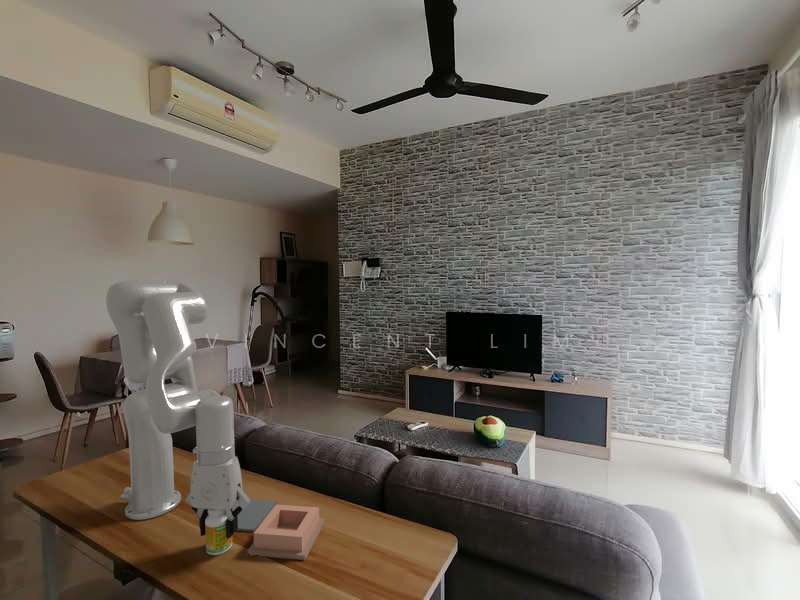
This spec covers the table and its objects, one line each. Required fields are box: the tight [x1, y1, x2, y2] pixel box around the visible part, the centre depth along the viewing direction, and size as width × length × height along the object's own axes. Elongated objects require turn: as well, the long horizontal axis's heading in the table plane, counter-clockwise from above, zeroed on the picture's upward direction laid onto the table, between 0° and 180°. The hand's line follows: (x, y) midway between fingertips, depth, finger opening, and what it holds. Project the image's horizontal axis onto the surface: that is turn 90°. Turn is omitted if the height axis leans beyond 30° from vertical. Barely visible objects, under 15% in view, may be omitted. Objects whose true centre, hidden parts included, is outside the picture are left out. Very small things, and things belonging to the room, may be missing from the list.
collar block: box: [247, 504, 326, 561], centre depth 90 cm, size 13×13×4 cm
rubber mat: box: [232, 498, 278, 533], centre depth 99 cm, size 12×12×1 cm
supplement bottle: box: [205, 509, 233, 556], centre depth 87 cm, size 5×5×10 cm
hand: (219, 532), depth 87 cm, fingers closed on supplement bottle, 5 cm apart
